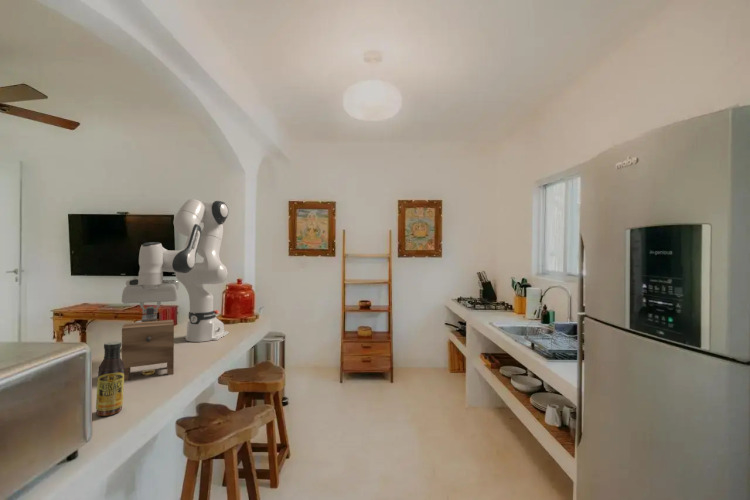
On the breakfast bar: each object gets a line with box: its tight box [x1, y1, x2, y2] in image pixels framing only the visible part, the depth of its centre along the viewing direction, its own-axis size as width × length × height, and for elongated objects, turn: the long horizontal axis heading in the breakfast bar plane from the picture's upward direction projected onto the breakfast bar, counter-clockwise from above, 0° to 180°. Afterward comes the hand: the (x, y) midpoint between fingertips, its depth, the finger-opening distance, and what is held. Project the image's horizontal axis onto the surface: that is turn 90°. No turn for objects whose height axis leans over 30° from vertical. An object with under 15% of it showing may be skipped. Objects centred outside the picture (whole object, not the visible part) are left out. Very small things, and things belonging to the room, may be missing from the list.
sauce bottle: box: [95, 340, 125, 417], centre depth 106 cm, size 6×6×20 cm
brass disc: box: [142, 368, 156, 376], centre depth 139 cm, size 4×4×1 cm
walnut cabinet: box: [121, 319, 175, 382], centre depth 138 cm, size 11×16×18 cm
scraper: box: [141, 305, 158, 322], centre depth 152 cm, size 18×5×4 cm, turn 30°
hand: (150, 313), depth 158 cm, fingers closed on scraper, 2 cm apart
